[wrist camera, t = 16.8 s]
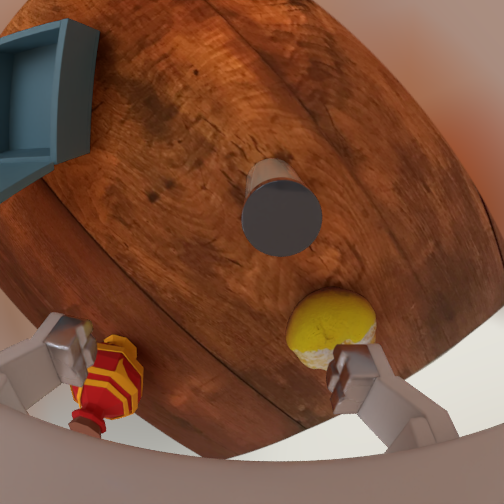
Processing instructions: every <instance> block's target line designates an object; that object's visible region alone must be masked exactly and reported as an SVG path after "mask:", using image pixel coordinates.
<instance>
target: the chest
mask: <svg viewBox="0 0 504 504" xmlns="http://www.w3.org/2000/svg"><path fill="white" fill-rule="evenodd" d="M99 35H100V31H98V30H96V29H93V28H91V27H89V26H86V25H84V24H82V23H79V22H77V21H74V20H72V19H69V18H67V19H63V20H59V21H55V22H51V23H47V24H43V25H39V26H36V27H32V28H29V29H26V30H23V31H20V32H16V33H13V34H11V35H8V36H5V37H2V38H0V163H19V162H52V161H53V162H54V165H55V164H59V163H62V162H65V161H67V160H70V159H73V158H76V157H79V156H82V155H84V154H88V153H90V129H91V109H92V94H93V83H94V73H95V64H96V56H97V48H98V41H99Z"/></svg>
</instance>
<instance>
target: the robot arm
mask: <svg viewBox="0 0 504 504" xmlns="http://www.w3.org/2000/svg"><path fill="white" fill-rule="evenodd" d="M92 331H93V326H92V322H91V321H90V320H88V319H84V318H79V317H75V316H70V315H66V314H65V315H64V314H60V313H56V312H53V313H50V315H49V316H48V317H47V318H46V320H45V321H44V322H43V324H42V325H41V326H40V327H39V329H38V330H37V331H36V333H35V334H34V335H33V337H32V338H31V339H25V340H23V341H21V342H19V343H17V344H15V345H13V346H11V347H9V348H6V349H4V350H2V351H0V504H504V423H502V424H500V425H497V426H494V427H491V428H488V429H485V430H482V431H479V432H476V433H473V434H469V435H466V436H462V437H459V435H458V433H457V431H456V429H455V427H454V425H453V422H452V420H451V418H450V416H449V414H448V412H447V411H446V410H445V409H443V408H442V407H441V406H439V405H438V404H436V403H435V402H434V401H432V400H431V399H429V398H428V397H427V396H425V395H424V394H423V393H421V392H420V391H418V390H417V389H416V388H414V387H413V386H411V385H410V384H409V383H407V382H406V381H405V380H403V379H402V378H400V377H399V376H394V373H393V371H392V369H391V367H390V365H389V362H388V360H387V358H386V356H385V354H384V352H383V350H382V347H381V345H379V344H337V345H336V346H335V348H334V350H333V356H334V359H333V360H332V361H331V362H329V365H328V368H327V374H326V383H327V388H328V390H330V391H331V392H332V395H331V398H330V401H331V405H332V409H333V414H354V413H355V414H356V413H358V414H357V415H358V416H359V417H360V418H361V419H362V420H363V421H364V423H365V424H366V425H367V426H368V427H369V428H370V429H371V430H372V431H373V432H374V433H375V434H376V435H377V436H378V438H379V439H380V440H381V441H382V442H383V443H384V444H385V445H386V446H387V447H388V449H387V450H386V452H385V453H384V454H378V455H371V456H364V457H355V458H344V459H333V460H317V461H287V462H285V461H283V462H282V461H280V462H279V461H277V462H274V461H241V460H225V459H214V458H203V457H195V456H187V455H179V454H173V453H166V452H160V451H155V450H149V449H144V448H139V447H134V446H129V445H125V444H120V443H116V442H112V441H108V440H104V439H100V438H97V437H93V436H89V435H86V434H83V433H79V432H76V431H73V430H69V429H66V428H63V427H60V426H57V425H54V424H51V423H48V422H46V421H43V420H40V419H38V418H35V417H33V416H30V415H29V414H28V412H27V411H26V410H27V409H29V408H30V407H31V406H33V405H34V404H35V403H36V402H38V401H39V400H40V399H42V398H43V397H44V396H46V395H47V394H48V393H50V392H51V391H52V390H54V389H55V388H57V387H58V386H59V385H61V383H65V384H69V385H73V386H77V387H81V388H82V387H83V385H84V383H85V381H86V379H87V376H88V370H87V368H89V367H91V366H92V365H93V364H94V362H95V360H96V356H97V342H96V339H95V338H94V337H93V336H92V334H91V333H92Z"/></svg>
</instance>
